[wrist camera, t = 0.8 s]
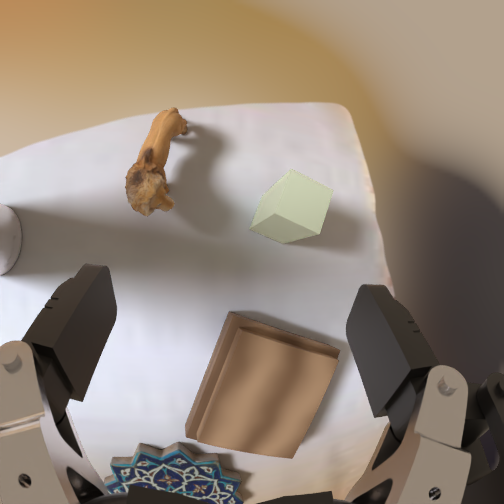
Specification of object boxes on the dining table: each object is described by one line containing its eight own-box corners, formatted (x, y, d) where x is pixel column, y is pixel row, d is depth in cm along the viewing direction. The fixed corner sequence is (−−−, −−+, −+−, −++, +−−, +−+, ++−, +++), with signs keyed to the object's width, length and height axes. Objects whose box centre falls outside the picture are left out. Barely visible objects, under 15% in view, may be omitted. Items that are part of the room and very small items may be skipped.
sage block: (249, 229, 35) (274, 213, 25) (262, 195, 35) (291, 168, 25) (283, 243, 35) (319, 234, 26) (295, 210, 36) (333, 190, 26)
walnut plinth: (185, 425, 31) (186, 445, 26) (228, 311, 33) (236, 318, 28) (283, 446, 34) (296, 464, 29) (329, 344, 36) (348, 354, 31)
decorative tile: (172, 537, 29) (173, 546, 26) (81, 472, 27) (77, 480, 25) (267, 492, 33) (271, 501, 31) (179, 416, 31) (179, 425, 29)
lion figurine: (175, 227, 33) (171, 212, 24) (130, 223, 31) (112, 207, 23) (190, 115, 34) (194, 73, 25) (150, 112, 33) (144, 70, 24)
